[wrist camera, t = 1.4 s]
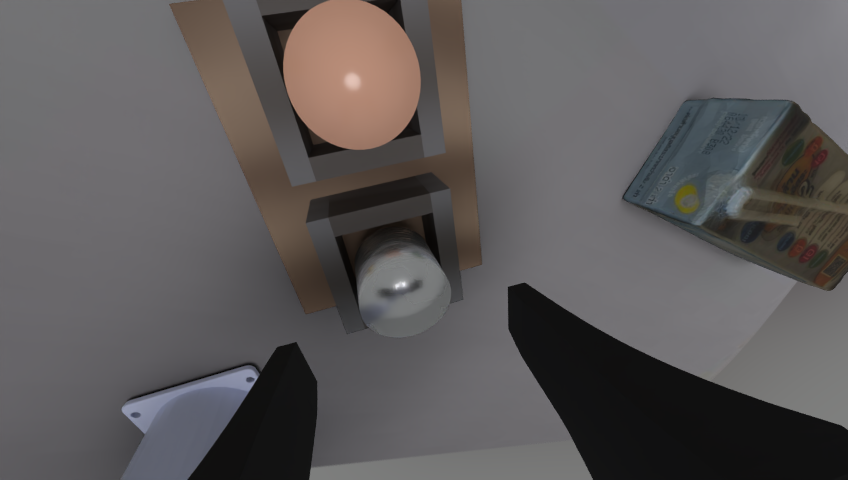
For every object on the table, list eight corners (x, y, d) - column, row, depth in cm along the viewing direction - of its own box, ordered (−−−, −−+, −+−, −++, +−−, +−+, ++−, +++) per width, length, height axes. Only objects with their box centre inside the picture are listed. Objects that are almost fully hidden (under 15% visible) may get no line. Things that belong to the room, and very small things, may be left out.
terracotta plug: (408, 125, 14) (429, 136, 11) (315, 143, 13) (309, 161, 10) (389, 14, 12) (408, -11, 9) (280, 30, 11) (260, 9, 8)
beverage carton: (685, 89, 21) (820, 90, 15) (804, 184, 28) (924, 209, 22) (615, 198, 23) (708, 235, 17) (741, 259, 31) (835, 299, 25)
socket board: (477, 259, 22) (504, 291, 19) (306, 307, 20) (300, 353, 17) (453, -28, 15) (490, -64, 11) (176, 7, 13) (117, -22, 9)
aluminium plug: (434, 282, 18) (455, 322, 15) (365, 301, 17) (371, 348, 14) (423, 218, 16) (445, 249, 13) (345, 237, 15) (347, 276, 12)
